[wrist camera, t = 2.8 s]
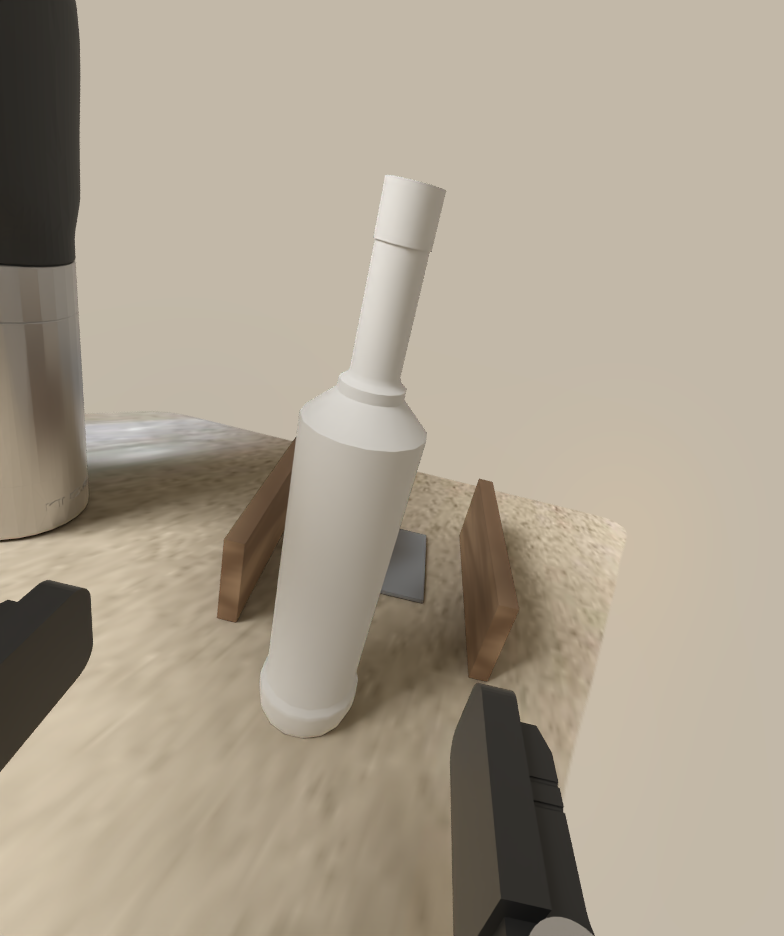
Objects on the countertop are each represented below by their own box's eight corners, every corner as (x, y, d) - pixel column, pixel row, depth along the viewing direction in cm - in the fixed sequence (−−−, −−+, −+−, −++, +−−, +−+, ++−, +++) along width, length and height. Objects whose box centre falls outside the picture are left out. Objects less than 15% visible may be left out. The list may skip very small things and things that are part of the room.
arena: (217, 618, 31) (224, 539, 28) (288, 494, 45) (297, 434, 42) (487, 681, 31) (519, 609, 28) (472, 538, 45) (492, 482, 43)
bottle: (285, 646, 30) (368, 177, 19) (365, 680, 29) (500, 208, 18) (237, 717, 25) (309, 150, 14) (330, 759, 24) (483, 191, 13)
